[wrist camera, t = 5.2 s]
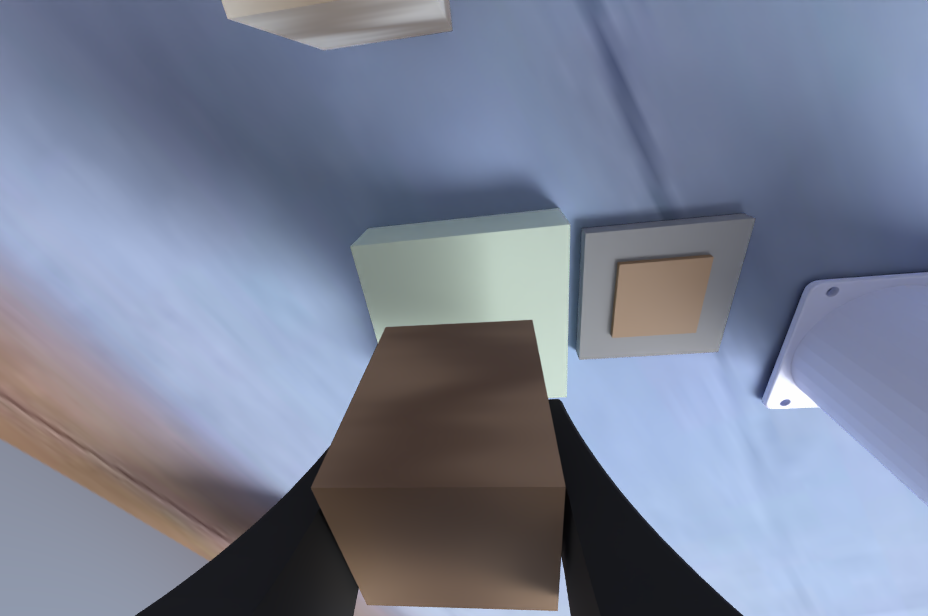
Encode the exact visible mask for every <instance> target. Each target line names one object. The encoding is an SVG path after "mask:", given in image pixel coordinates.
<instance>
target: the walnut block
mask: <svg viewBox="0 0 928 616" xmlns="http://www.w3.org/2000/svg"><path fill="white" fill-rule="evenodd" d="M565 489H566V486H565V481H564V476H563V471H562V466H561V461H560V456H559V451H558V446H557V441H556V436H555V431H554V426H553V421H552V416H551V411H550V406H549V401H548V396H547V391H546V386H545V381H544V375H543V370H542V365H541V360H540V355H539V350H538V345H537V340H536V335H535V330H534V325H533V320H516V321H496V322H476V323H456V324H435V325H415V326H395V327H385V329H384V332H383V334H382V336H381V338H380V340H379V342H378V344H377V347H376V349H375V351H374V353H373V355H372V357H371V359H370V362H369V364H368V366H367V368H366V370H365V372H364V375H363V377H362V379H361V381H360V383H359V385H358V387H357V390H356V392H355V394H354V396H353V398H352V400H351V402H350V405H349V407H348V409H347V411H346V413H345V415H344V417H343V420H342V422H341V424H340V426H339V428H338V430H337V432H336V435H335V437H334V439H333V441H332V443H331V445H330V447H329V450H328V452H327V454H326V456H325V458H324V460H323V463H322V465H321V467H320V469H319V471H318V473H317V475H316V478H315V480H314V482H313V484H312V486H311V490H312V492H313V494H314V496H315V498H316V500H317V502H318V504H319V506H320V508H321V510H322V512H323V514H324V516H325V519H326V521H327V523H328V525H329V527H330V529H331V531H332V533H333V535H334V537H335V539H336V541H337V543H338V546H339V548H340V550H341V552H342V554H343V556H344V558H345V560H346V562H347V564H348V566H349V568H350V570H351V572H352V575H353V577H354V579H355V581H356V583H357V585H358V587H359V589H360V591H361V593H362V595H363V597H364V599H365V602H366V604H367V605H384V606H417V607H450V608H482V609H515V610H548V611H558V597H559V582H560V566H561V551H562V535H563V520H564V504H565Z"/></svg>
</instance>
